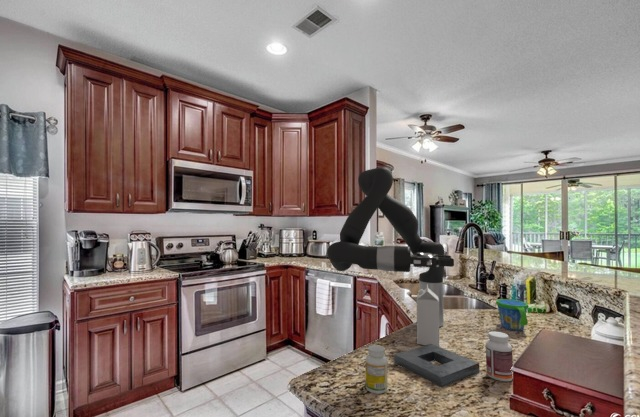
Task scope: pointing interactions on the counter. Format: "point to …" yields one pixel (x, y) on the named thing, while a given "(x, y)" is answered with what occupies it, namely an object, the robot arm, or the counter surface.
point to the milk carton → (427, 317)
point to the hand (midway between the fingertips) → (452, 260)
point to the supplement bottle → (376, 370)
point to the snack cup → (512, 314)
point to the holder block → (439, 375)
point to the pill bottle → (499, 357)
